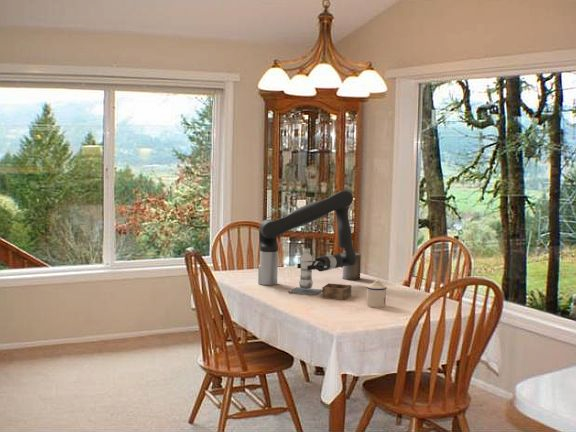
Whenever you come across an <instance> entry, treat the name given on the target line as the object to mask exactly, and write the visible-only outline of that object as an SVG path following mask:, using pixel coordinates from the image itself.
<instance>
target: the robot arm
mask: <svg viewBox="0 0 576 432" xmlns="http://www.w3.org/2000/svg"><path fill="white" fill-rule="evenodd" d="M353 201H354V196H353V194H352V193H351V192H350V191H349V190H344V189H343V190H339V191H338V192H336V193H334V194H333V195H331V196H329V197H327V198H324V199H321V200H318V201H314V202H310V203H308V204H305V205H303V206H300V207H298V208H296V209H295V210H293V211H291V212H290V213H289V214H287V215H286V216H283V217H281V218H280V217H279V218H277V219H274V220H272V219H264V220H263V221H262V222H260V225H259V228H258V236H259V237H258V240H259V241H258V243H259V265H258V274H257V275H258V277H257V279H258V280H257V281H258V282H257V283H258V285H259V284H260V285H262V286H263V285H264V286H275V285H277V284H278V273H279V272H278V267H279V266H278V264H279V262H278V261H279V257H278V256H279V247H278V237H279V236H280V235H283V234H284V233H286V232H288V231H290V230H294V229H295V228H299V227H301V226H304V225H308V224H310V223H312V222H314V221H316V220H319V219H321V218H322V217H324V216H326V215H328V214H330V213H331V212H334V211H335V215H336V222H337V237H338V238H337V239H338V247H339V248H341V249H344V251H345V252H340V253H336V254H330V255H329V254H328V255H322V256H317V257H316V258H315V259H313V263H312V265H309V266H308V267H307V270H312V271H318V272H324V271H330V270H334V269H338V268H341V267H343V266H352V265H354V264H355V263H356V254H355V253H356V252H355V248H354V245H353V237H352V229H351V225H350V221H349V220H350V219H349V207H350V206H351V204H353ZM296 267H297V269H301V265H300V263H297V265H296Z"/></svg>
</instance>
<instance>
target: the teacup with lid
mask: <svg viewBox="0 0 576 432" xmlns="http://www.w3.org/2000/svg"><path fill="white" fill-rule="evenodd" d="M387 289H388V288H387V286H386V285H385V284H382V283H381V282H380V281H379V280H378V279H377V280H374V282H372V283H370V284H367V285H366V306H367V307H369V308H375V309H379V308H385V307H386V305H387V304H386V299H387Z"/></svg>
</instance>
